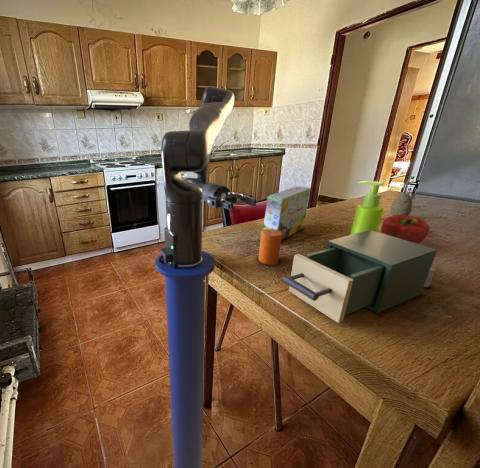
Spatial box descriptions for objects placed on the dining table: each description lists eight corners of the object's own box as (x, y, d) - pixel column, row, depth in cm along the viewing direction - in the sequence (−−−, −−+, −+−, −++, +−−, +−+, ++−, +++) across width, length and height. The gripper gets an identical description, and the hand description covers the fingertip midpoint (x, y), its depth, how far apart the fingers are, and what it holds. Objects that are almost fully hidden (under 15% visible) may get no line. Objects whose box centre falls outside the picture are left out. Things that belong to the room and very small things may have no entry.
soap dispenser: (347, 243, 80) (363, 178, 73) (374, 250, 75) (393, 181, 68) (339, 248, 77) (354, 181, 70) (366, 256, 72) (386, 184, 65)
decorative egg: (384, 217, 101) (392, 192, 97) (393, 215, 103) (400, 190, 100) (402, 221, 96) (411, 195, 92) (411, 219, 98) (419, 193, 95)
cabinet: (377, 313, 50) (392, 265, 46) (319, 282, 61) (327, 240, 57) (420, 294, 55) (437, 249, 51) (359, 268, 66) (370, 229, 62)
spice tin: (267, 266, 68) (271, 237, 65) (254, 258, 73) (257, 230, 70) (282, 262, 70) (286, 233, 67) (268, 255, 75) (272, 227, 72)
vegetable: (429, 256, 70) (442, 221, 67) (382, 250, 75) (392, 217, 71) (414, 241, 80) (424, 210, 76) (373, 237, 84) (381, 207, 80)
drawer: (318, 331, 45) (328, 288, 41) (271, 296, 54) (275, 259, 51) (385, 303, 51) (397, 264, 48) (331, 276, 61) (339, 242, 58)
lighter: (429, 287, 57) (442, 254, 54) (421, 287, 57) (434, 254, 54) (403, 271, 64) (413, 241, 61) (396, 271, 64) (405, 241, 61)
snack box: (277, 245, 81) (283, 198, 75) (261, 240, 85) (265, 195, 79) (304, 227, 94) (311, 187, 88) (289, 224, 98) (295, 185, 92)
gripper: (197, 186, 87) (224, 195, 73) (232, 181, 92) (263, 189, 78) (197, 207, 90) (223, 220, 76) (231, 201, 95) (261, 213, 81)
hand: (244, 204), depth 77 cm, fingers open, 8 cm apart
